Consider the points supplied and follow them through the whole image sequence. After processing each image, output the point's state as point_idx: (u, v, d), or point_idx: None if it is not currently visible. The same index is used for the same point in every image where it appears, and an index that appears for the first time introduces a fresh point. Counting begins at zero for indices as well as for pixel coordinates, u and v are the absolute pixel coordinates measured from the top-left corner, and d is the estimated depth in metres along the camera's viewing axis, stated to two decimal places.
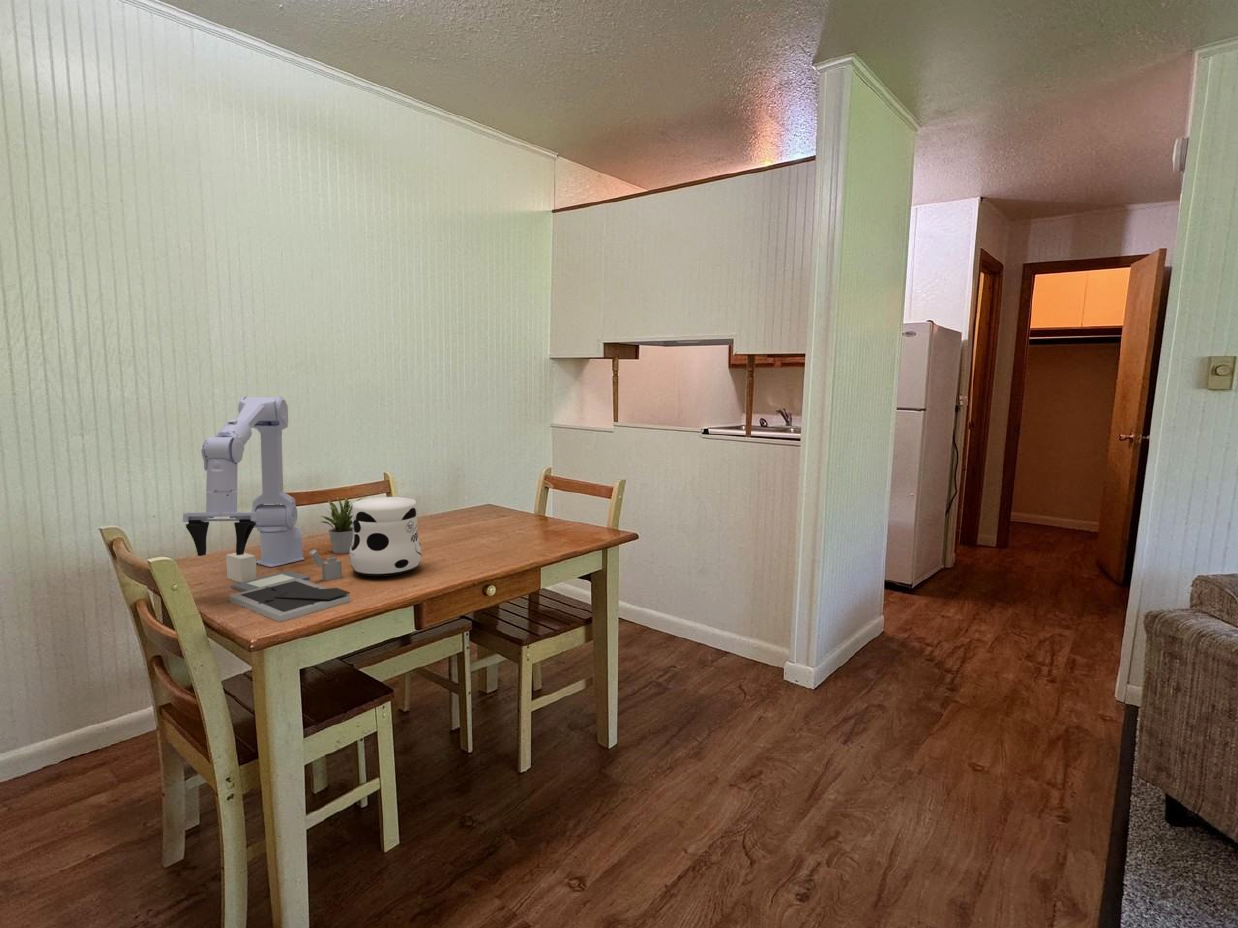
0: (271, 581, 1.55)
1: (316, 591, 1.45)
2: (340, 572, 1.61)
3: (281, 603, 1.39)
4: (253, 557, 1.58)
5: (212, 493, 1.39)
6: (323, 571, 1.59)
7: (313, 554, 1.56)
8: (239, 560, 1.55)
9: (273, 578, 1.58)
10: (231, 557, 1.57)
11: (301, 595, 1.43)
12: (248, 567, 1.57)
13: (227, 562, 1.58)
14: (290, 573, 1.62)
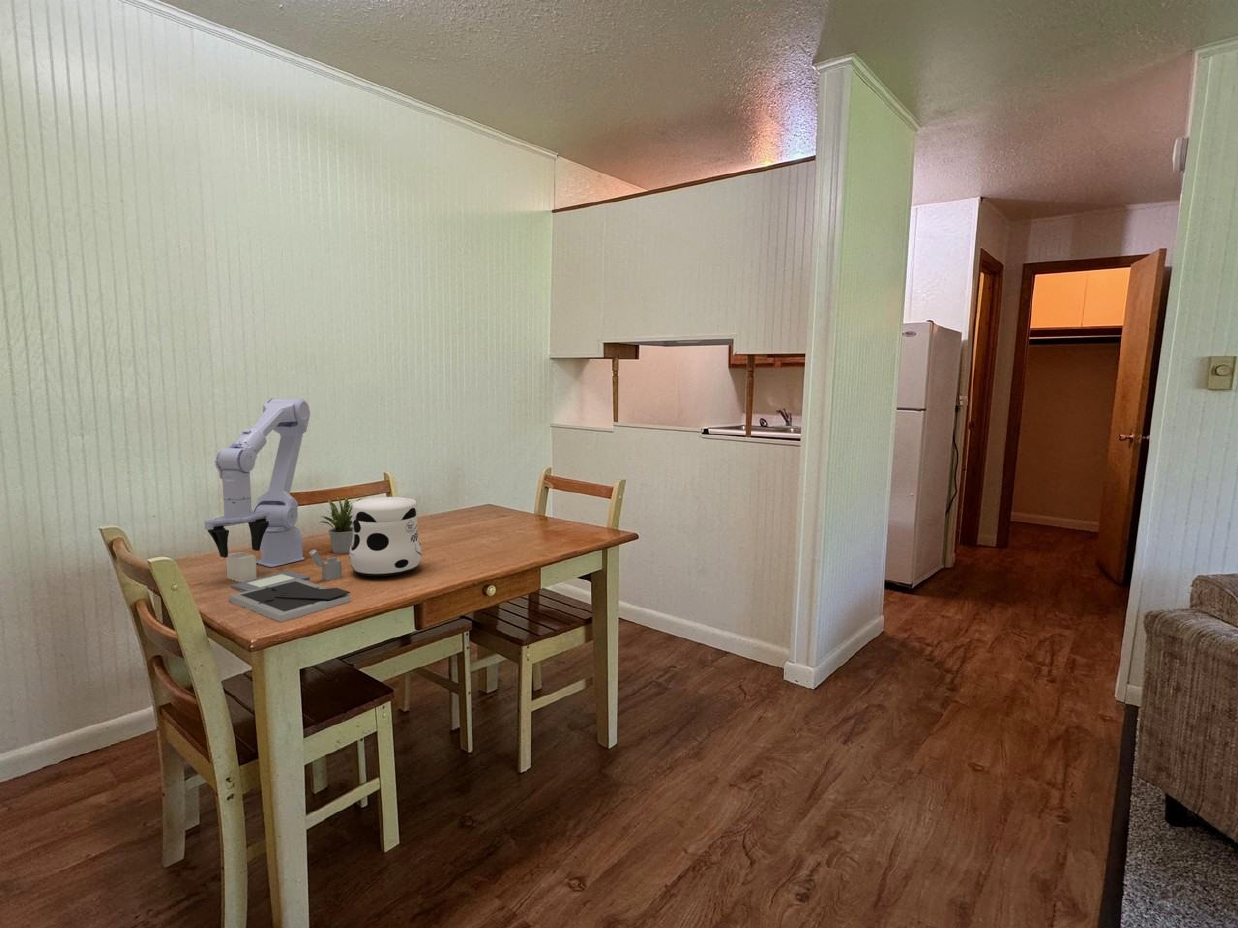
0: (271, 581, 1.55)
1: (316, 591, 1.45)
2: (340, 572, 1.61)
3: (281, 603, 1.39)
4: (253, 557, 1.58)
5: (240, 500, 1.54)
6: (323, 571, 1.59)
7: (313, 554, 1.56)
8: (239, 560, 1.55)
9: (273, 578, 1.58)
10: (231, 557, 1.57)
11: (302, 595, 1.43)
12: (248, 567, 1.57)
13: (227, 562, 1.58)
14: (290, 573, 1.62)
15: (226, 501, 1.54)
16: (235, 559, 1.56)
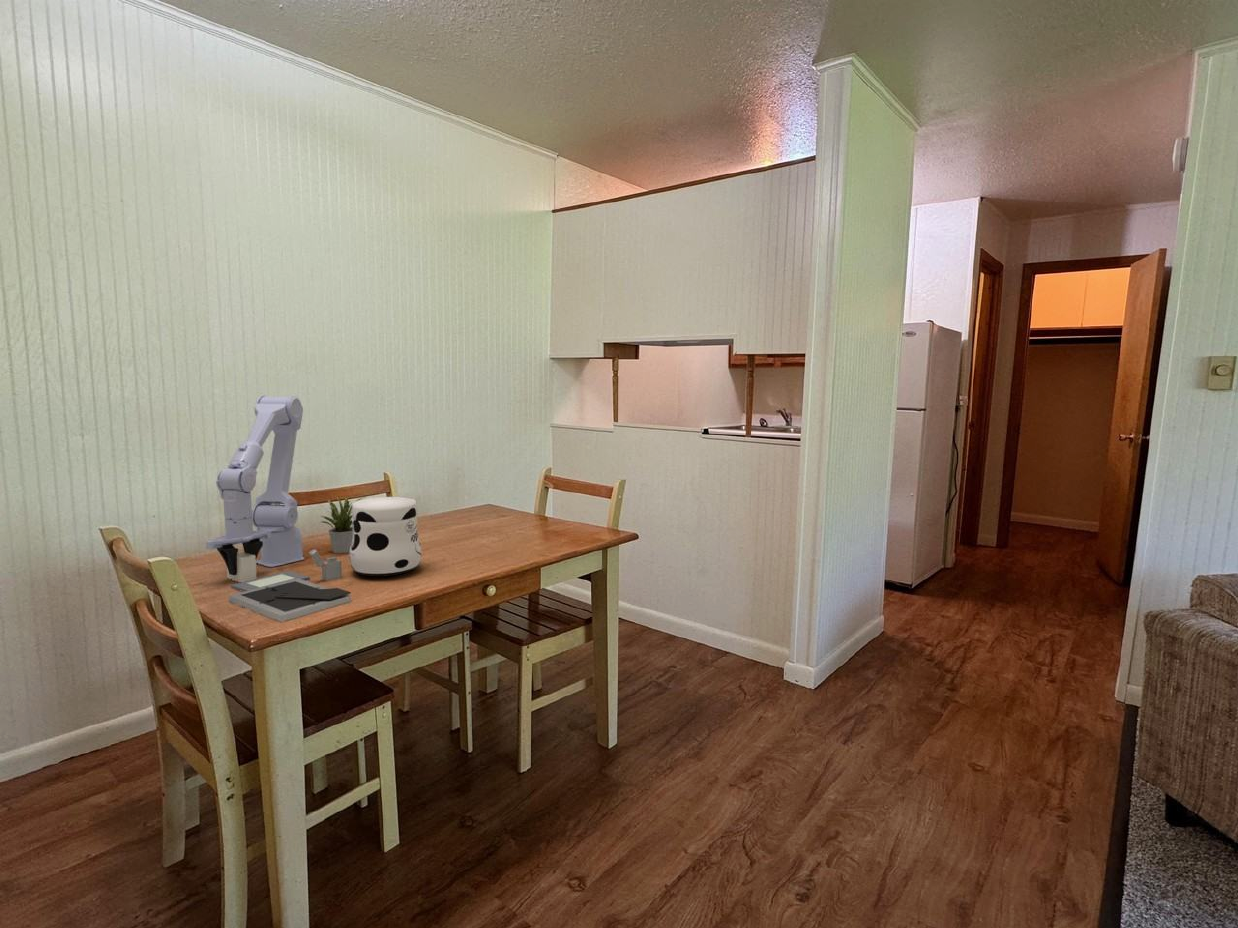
0: (271, 581, 1.55)
1: (317, 591, 1.45)
2: (340, 572, 1.61)
3: (282, 603, 1.38)
4: (253, 557, 1.58)
5: (241, 520, 1.55)
6: (323, 571, 1.59)
7: (313, 554, 1.56)
8: (239, 560, 1.55)
9: (273, 578, 1.58)
10: None
11: (302, 595, 1.43)
12: (248, 567, 1.57)
13: None
14: (290, 573, 1.62)
15: (227, 521, 1.55)
16: None
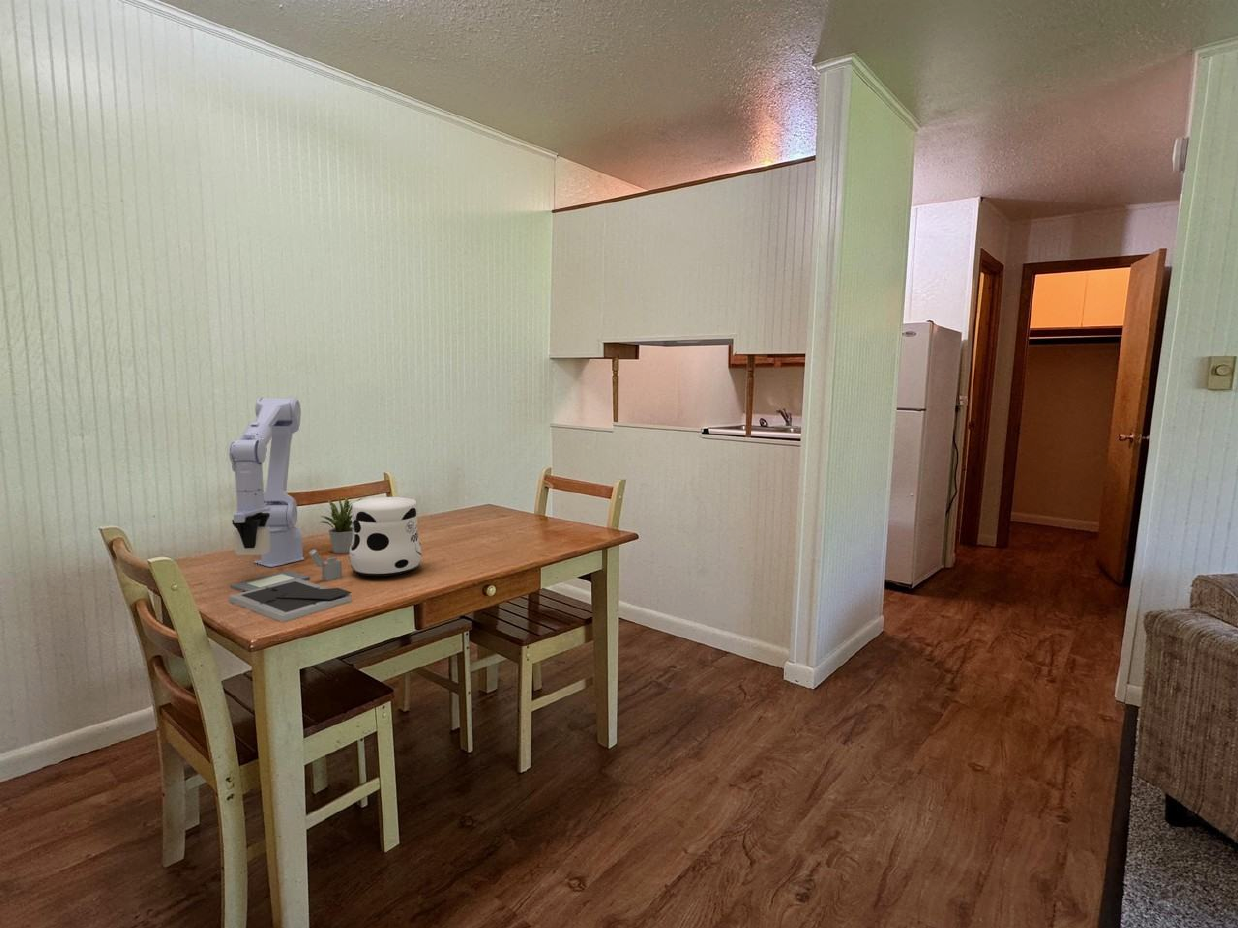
0: (271, 581, 1.55)
1: (317, 591, 1.45)
2: (340, 572, 1.61)
3: (283, 603, 1.38)
4: (268, 528, 1.58)
5: (261, 491, 1.55)
6: (323, 571, 1.59)
7: (313, 554, 1.56)
8: (261, 531, 1.55)
9: (273, 578, 1.58)
10: None
11: (303, 595, 1.43)
12: (267, 538, 1.57)
13: (237, 537, 1.54)
14: (290, 573, 1.62)
15: (247, 493, 1.52)
16: None
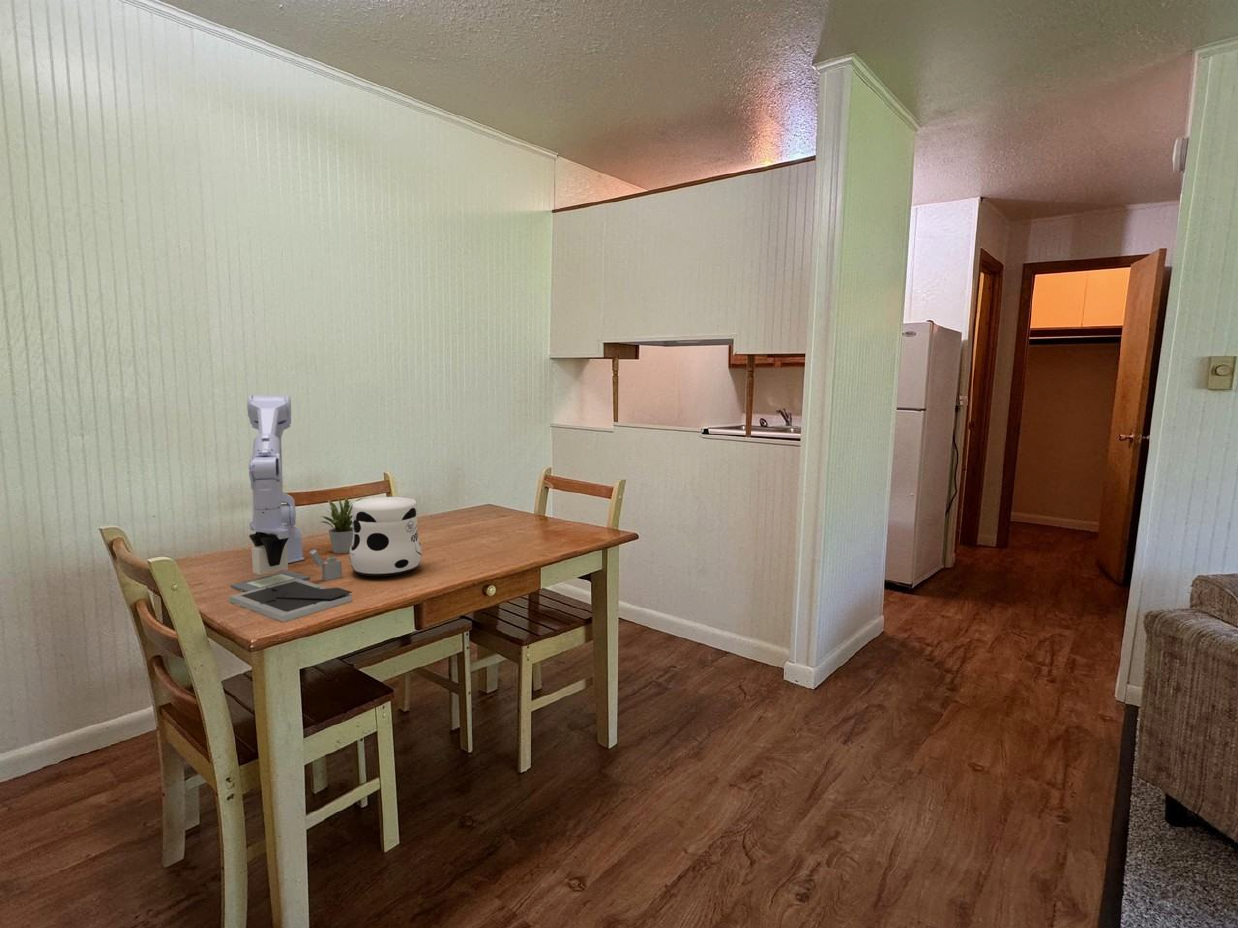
0: (271, 581, 1.55)
1: (317, 591, 1.45)
2: (340, 572, 1.61)
3: (283, 603, 1.38)
4: None
5: None
6: (323, 571, 1.59)
7: (313, 554, 1.56)
8: (284, 547, 1.56)
9: (273, 578, 1.58)
10: None
11: (303, 595, 1.43)
12: None
13: (261, 556, 1.52)
14: (290, 573, 1.62)
15: (275, 510, 1.53)
16: None
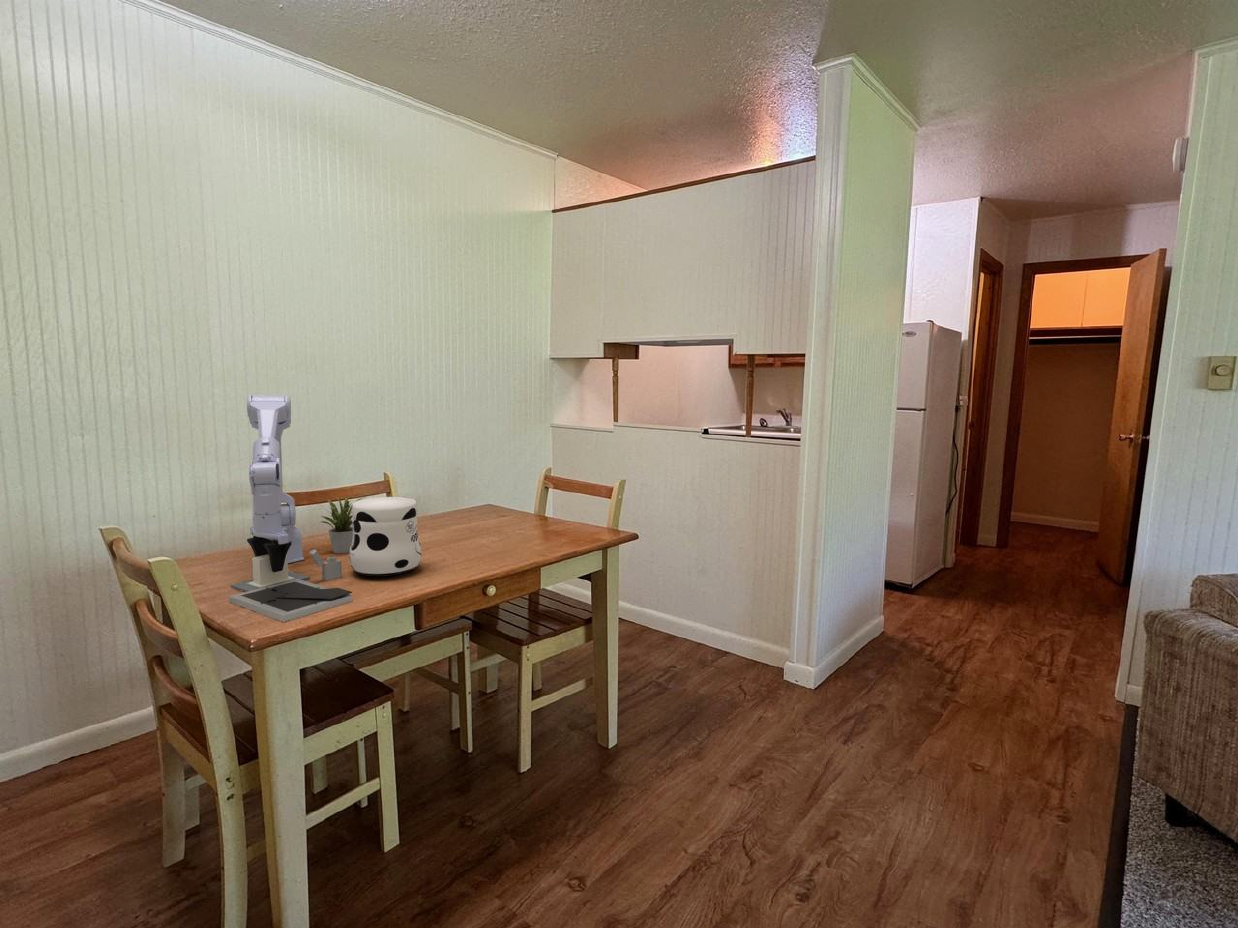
0: None
1: (318, 591, 1.45)
2: (340, 572, 1.61)
3: (283, 603, 1.38)
4: None
5: None
6: (323, 571, 1.59)
7: (313, 554, 1.56)
8: None
9: None
10: None
11: (303, 595, 1.43)
12: None
13: (262, 567, 1.52)
14: (290, 573, 1.62)
15: (275, 515, 1.53)
16: None
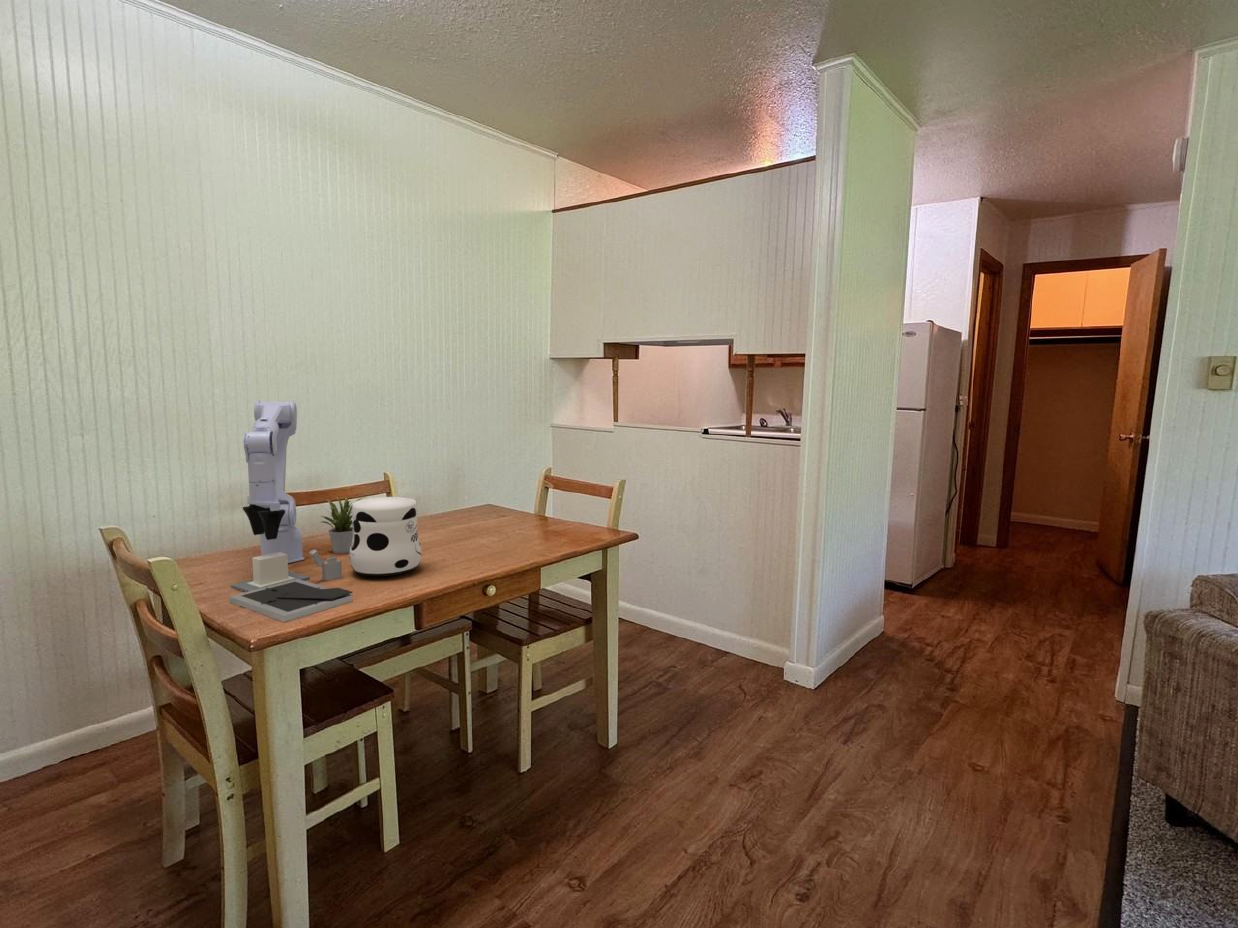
0: None
1: (318, 591, 1.45)
2: (340, 572, 1.61)
3: (284, 603, 1.38)
4: None
5: (275, 481, 1.59)
6: (323, 571, 1.59)
7: (313, 554, 1.56)
8: (285, 556, 1.56)
9: None
10: (270, 559, 1.54)
11: (304, 595, 1.43)
12: None
13: (262, 567, 1.52)
14: (290, 573, 1.62)
15: (269, 483, 1.56)
16: (277, 558, 1.55)
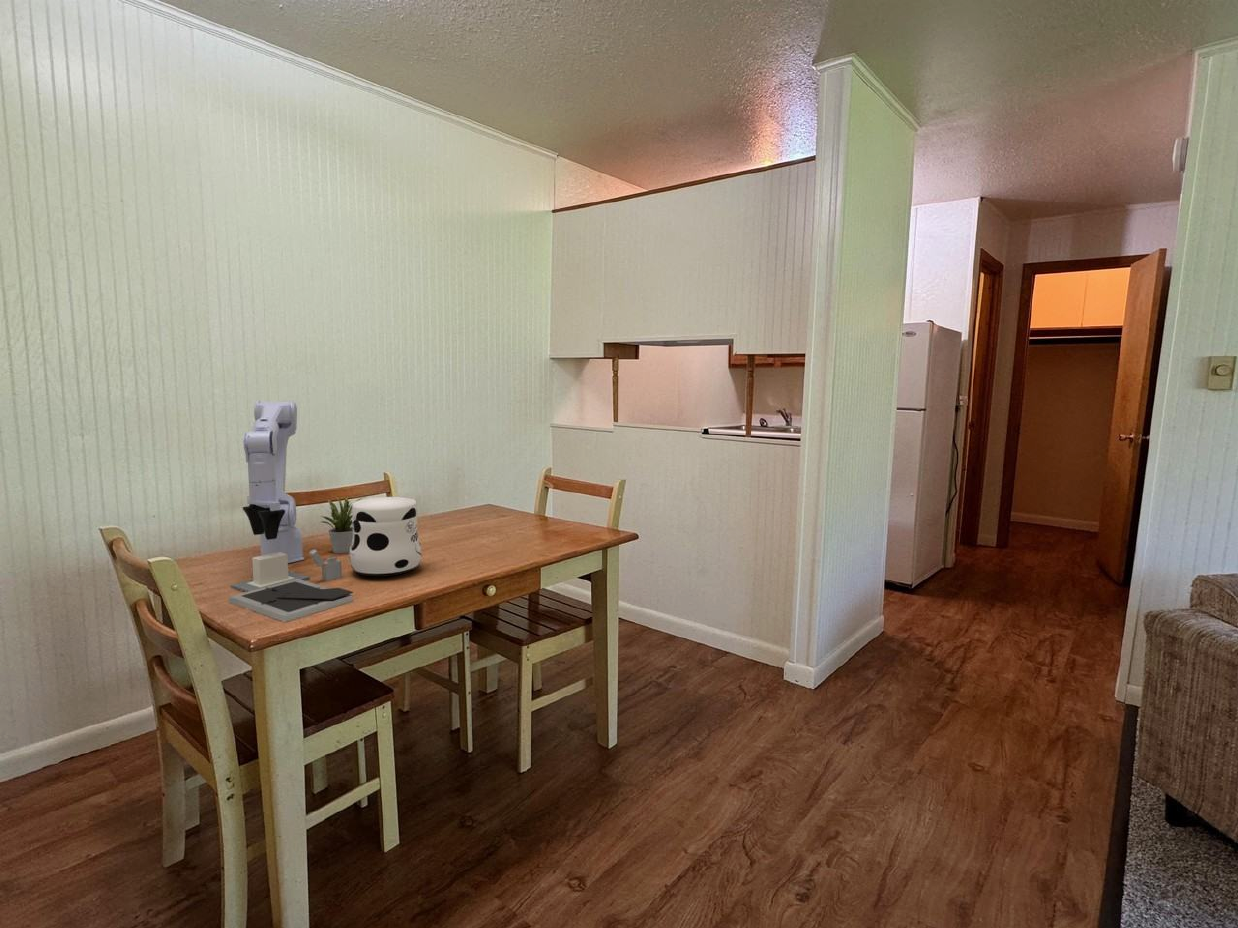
0: None
1: (318, 591, 1.45)
2: (340, 572, 1.61)
3: (284, 603, 1.38)
4: None
5: (275, 481, 1.59)
6: (323, 571, 1.59)
7: (313, 554, 1.56)
8: (285, 556, 1.56)
9: None
10: (270, 559, 1.54)
11: (304, 595, 1.43)
12: None
13: (262, 567, 1.52)
14: (290, 573, 1.62)
15: (269, 483, 1.56)
16: (277, 558, 1.55)
